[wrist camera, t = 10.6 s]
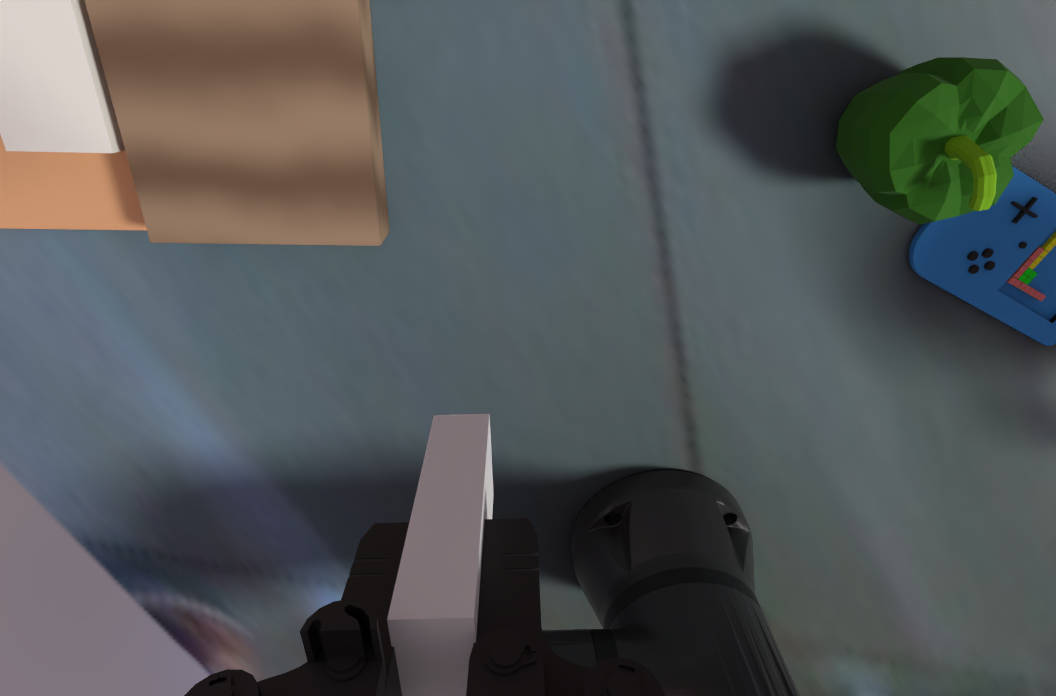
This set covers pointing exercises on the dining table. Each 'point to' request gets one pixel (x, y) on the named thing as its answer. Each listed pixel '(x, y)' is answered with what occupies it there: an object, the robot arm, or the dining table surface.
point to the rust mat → (68, 191)
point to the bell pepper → (938, 137)
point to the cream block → (53, 80)
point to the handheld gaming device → (998, 257)
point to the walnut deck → (248, 118)
